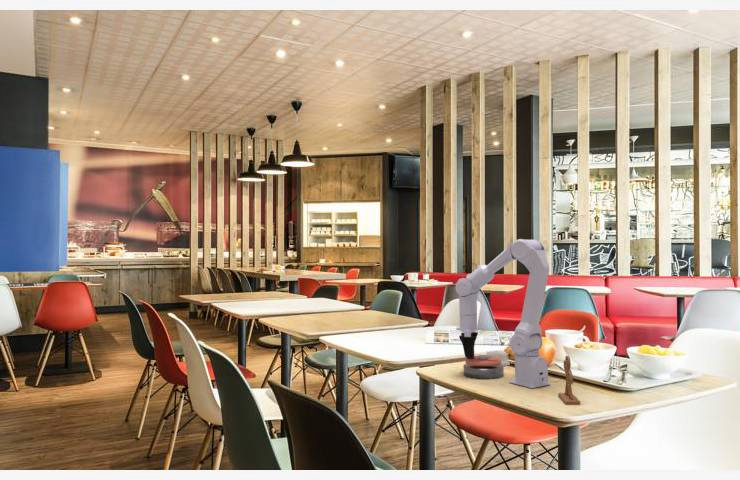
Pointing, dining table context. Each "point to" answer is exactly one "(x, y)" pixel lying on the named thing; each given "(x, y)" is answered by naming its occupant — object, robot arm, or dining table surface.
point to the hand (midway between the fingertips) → (469, 355)
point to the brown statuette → (568, 396)
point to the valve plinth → (483, 371)
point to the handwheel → (483, 360)
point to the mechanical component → (499, 356)
